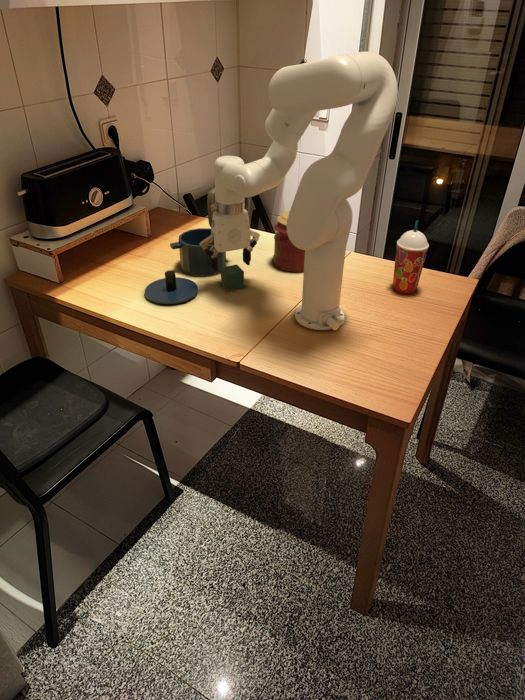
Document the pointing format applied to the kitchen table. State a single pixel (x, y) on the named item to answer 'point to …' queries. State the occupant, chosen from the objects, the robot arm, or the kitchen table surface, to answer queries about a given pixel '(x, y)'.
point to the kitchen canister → (286, 248)
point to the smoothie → (409, 260)
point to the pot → (197, 253)
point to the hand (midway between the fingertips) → (230, 266)
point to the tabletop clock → (212, 200)
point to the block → (232, 277)
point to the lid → (171, 289)
